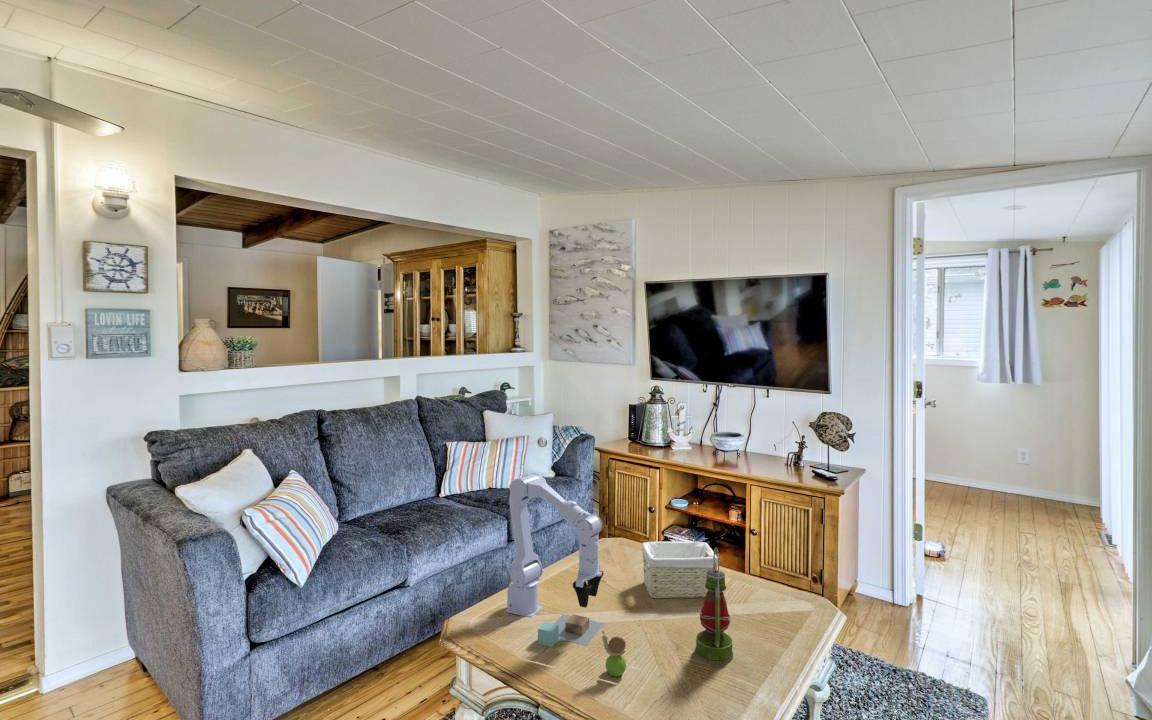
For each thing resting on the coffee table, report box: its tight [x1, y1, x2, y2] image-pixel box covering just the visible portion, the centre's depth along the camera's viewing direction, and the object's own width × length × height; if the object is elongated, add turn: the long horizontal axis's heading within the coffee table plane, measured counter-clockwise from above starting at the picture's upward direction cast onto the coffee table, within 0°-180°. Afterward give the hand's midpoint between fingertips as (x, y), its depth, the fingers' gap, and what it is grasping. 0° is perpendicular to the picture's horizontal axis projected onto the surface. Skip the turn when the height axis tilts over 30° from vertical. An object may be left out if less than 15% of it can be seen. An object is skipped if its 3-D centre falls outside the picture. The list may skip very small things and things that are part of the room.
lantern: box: [694, 547, 734, 665], centre depth 167 cm, size 14×11×30 cm
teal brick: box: [537, 621, 560, 648], centre depth 173 cm, size 4×4×5 cm
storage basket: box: [641, 541, 718, 599], centre depth 208 cm, size 24×16×15 cm
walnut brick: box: [565, 613, 590, 636], centre depth 180 cm, size 6×6×3 cm
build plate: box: [553, 613, 605, 646], centre depth 180 cm, size 14×14×1 cm
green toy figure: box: [601, 630, 627, 678], centre depth 157 cm, size 5×6×12 cm
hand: (588, 600), depth 178 cm, fingers open, 7 cm apart
